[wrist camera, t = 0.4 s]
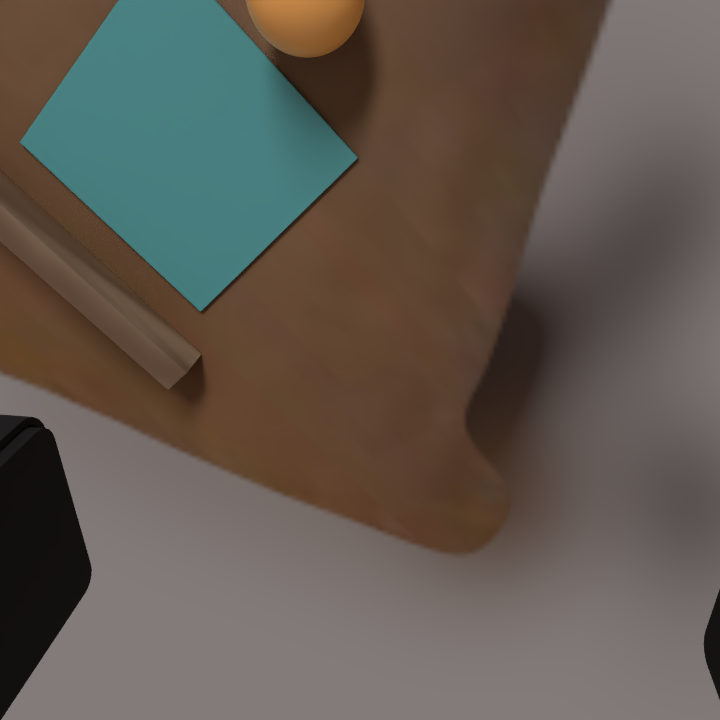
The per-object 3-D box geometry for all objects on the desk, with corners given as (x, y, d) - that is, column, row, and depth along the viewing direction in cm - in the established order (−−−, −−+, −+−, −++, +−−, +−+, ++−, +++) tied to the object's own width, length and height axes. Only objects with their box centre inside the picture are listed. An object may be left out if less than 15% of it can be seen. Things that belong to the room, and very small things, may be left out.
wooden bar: (-27, 145, 39) (-57, 153, 36) (201, 354, 43) (186, 372, 41) (-42, 168, 39) (-72, 177, 37) (183, 371, 44) (168, 390, 42)
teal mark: (162, -59, 32) (160, -60, 32) (358, 157, 36) (357, 158, 35) (22, 141, 38) (19, 142, 38) (201, 310, 41) (200, 311, 41)
